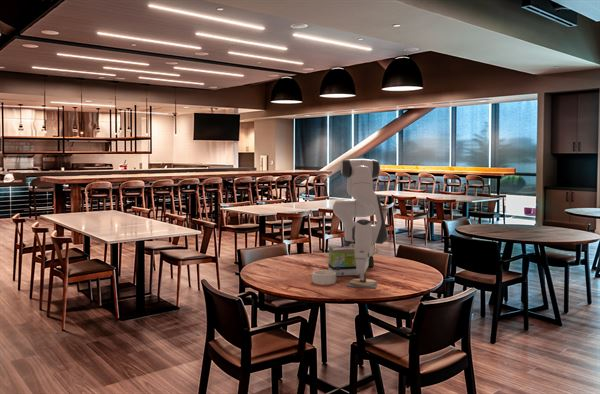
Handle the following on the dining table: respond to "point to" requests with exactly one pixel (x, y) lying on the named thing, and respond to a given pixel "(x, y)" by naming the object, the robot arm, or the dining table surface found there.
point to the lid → (362, 282)
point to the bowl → (324, 277)
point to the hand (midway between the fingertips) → (362, 278)
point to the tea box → (342, 260)
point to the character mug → (371, 261)
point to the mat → (362, 286)
